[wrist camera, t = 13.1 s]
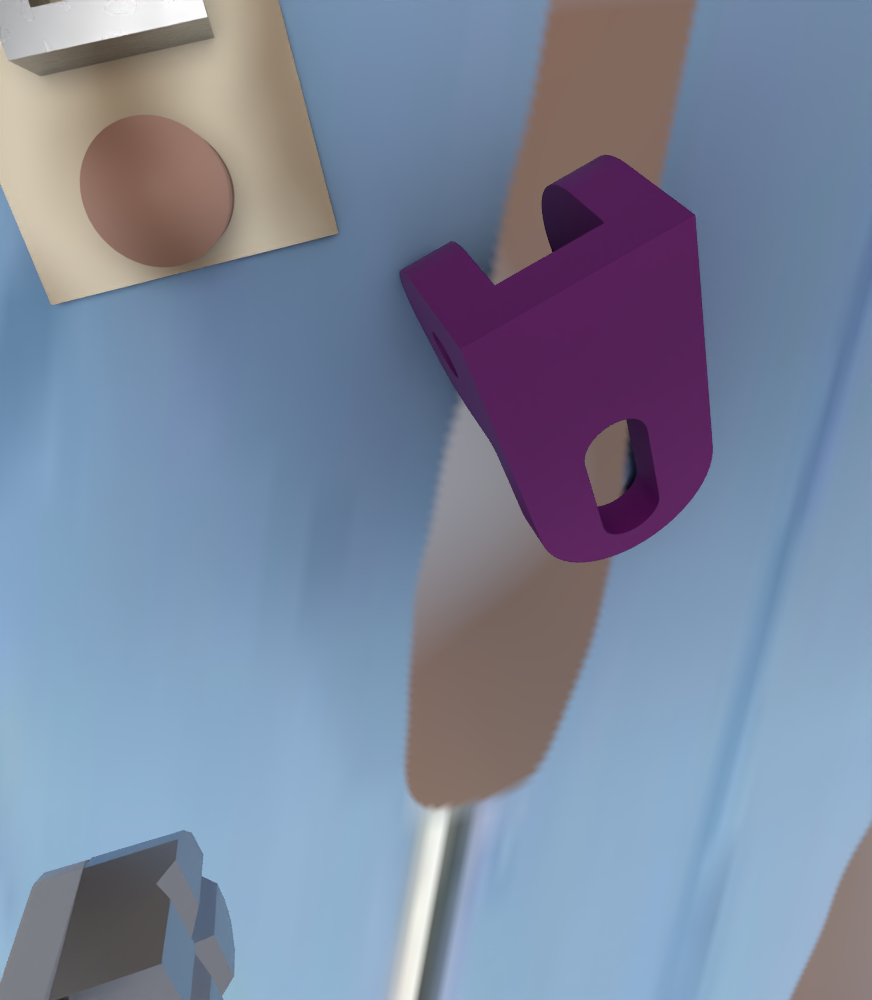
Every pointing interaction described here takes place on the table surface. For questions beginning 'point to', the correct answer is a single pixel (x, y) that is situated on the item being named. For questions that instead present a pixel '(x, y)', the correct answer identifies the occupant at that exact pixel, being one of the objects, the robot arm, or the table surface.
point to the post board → (181, 92)
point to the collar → (95, 30)
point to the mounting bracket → (583, 356)
